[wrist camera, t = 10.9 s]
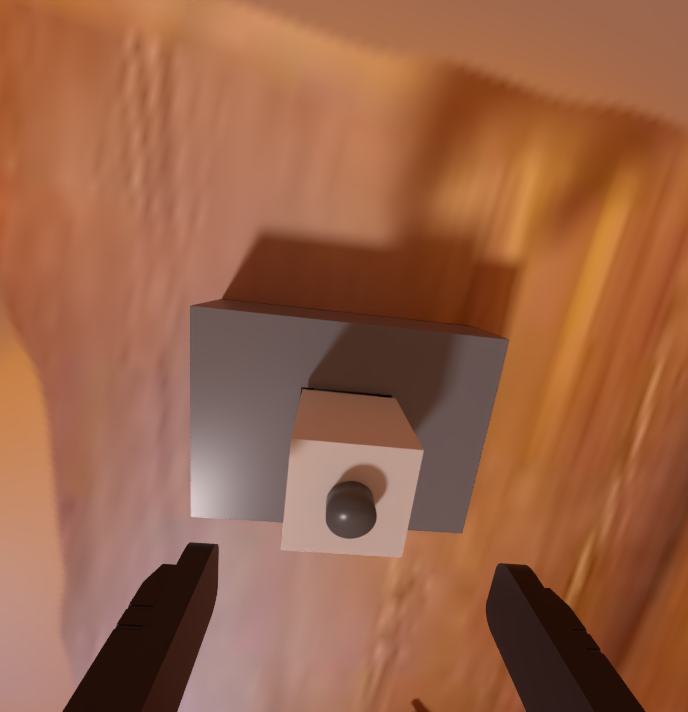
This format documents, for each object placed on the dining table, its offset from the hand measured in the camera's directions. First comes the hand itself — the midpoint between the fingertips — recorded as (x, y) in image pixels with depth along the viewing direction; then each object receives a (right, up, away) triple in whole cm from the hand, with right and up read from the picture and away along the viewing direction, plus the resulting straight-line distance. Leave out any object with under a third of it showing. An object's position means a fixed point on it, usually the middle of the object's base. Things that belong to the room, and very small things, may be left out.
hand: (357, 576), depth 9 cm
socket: (-1, +3, +13) cm, 13 cm away
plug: (-1, +3, +13) cm, 13 cm away
